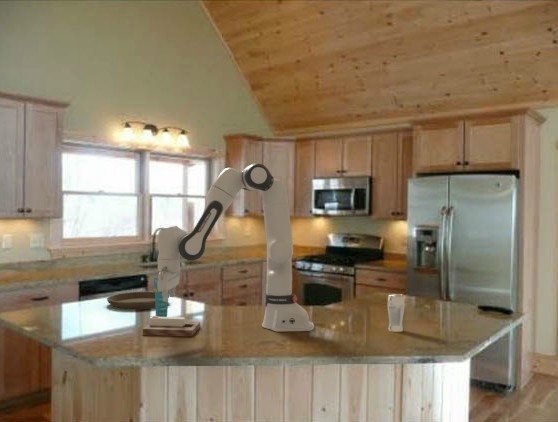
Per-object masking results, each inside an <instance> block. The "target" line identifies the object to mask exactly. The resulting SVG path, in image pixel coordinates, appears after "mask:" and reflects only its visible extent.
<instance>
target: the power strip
mask: <svg viewBox="0 0 558 422" xmlns="http://www.w3.org/2000/svg"><path fill="white" fill-rule="evenodd" d="M185 321H186V317H184V316H183V317H182V316H167V317H158V316H156V315H153V316H151V317H149V324H150V325H151V326H184V325H185Z"/></svg>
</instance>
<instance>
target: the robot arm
mask: <svg viewBox="0 0 558 422" xmlns="http://www.w3.org/2000/svg"><path fill="white" fill-rule="evenodd" d="M241 190H246V191H249V192H255V191H256V192H257V191H258V192H260V193H259V194H260V195H261V197H262V207H263V218H264V221H263V222H264V230H265V242H266V288H265V289H266V293H265V294H264V295H265V296H264V305H265V310H264V311H265V312H264V317H263V321H262V324H261V326H262V327H263V328H265V329H268V330H271V331H274V332H279V333H281V332H310V331H313V330H314V329H315V324H314V323H313V322H312V321H310V317H309V313H308V311H307V310H306V309H305V308H303V306H301V305H300V304H299V303H298V302H297V301H298V297H297V295H296V294H294V293H293V290H292V289H293V265H292V261H293V258H292V257H293V255H294V244H293V234H292V226H291V214H290V207H289V206H290V205H289V197H288V192H287V191H288V190H287V188H286V184H285V182H284V181H283V180H281V179H279V178H274V177H273V175H272V173H271V172H270V170H269V169H268V168H267V166H265V165H264V164H262V163H256V162H255V163H252V164H249V165H247V166H246V167H245V168H244V169H243V170H238V169H236V168H234V167H227V168H224V169H223V170H222V171H221V172H220V174H219V175H218V176H217V177H216V178H215V179H214V182H213V183H212V185H211V186H210V188H209V189H208V192H207V194H206V197H205V200H204V207H203V212H202V215H201V216H200V218H199V220H198V221H197V223H196V225H195V226H194V228H193V230H192V231H191V232H188V231H186V230H184V229H182V228H180V227H179V226H177V225H170V226H165V227H162V228H161V229H160V230H159V231H158V234H157V235H158V236H157V251H158V256H157V270H158V271H160V272H159V273H158V275H157V278H158V285H157V289H158V292H162V296H163V301H164V302H167V301H168V302H169V298H174V297H175V296H176V295H175V294H176V293H175V292H176V289H177V286H178V285H180V282H181V268H182V262H181V260H180V259H181V257H182V258H183V259H185V260H186V261H197V260H198V259H200V258H201V257H202V256H203V254H204V253H205V248H206V242H207V239H208V237H209V235H210V234H211V232H212V231H213V228H214V227H215V225H216V223H217V222H218V220H219V219H220V217H221V216H222V215H223V214H224V213H225V212H226V211H227V210H228V209H229V207H230V206H231V205H232V203H233V202H234V200H235V199H236V197H237V194H239V192H241ZM168 290H169V298H168V294H167V293H168Z"/></svg>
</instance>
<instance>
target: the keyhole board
mask: <svg viewBox="0 0 558 422" xmlns="http://www.w3.org/2000/svg"><path fill="white" fill-rule="evenodd" d="M199 329H201V321H189V320H188V321H186V320H185V325H184V326H151V325H150V323H149V324H147V325H146V326H145V327H143V328H142V336H167V337H170V336H171V337H193V336H194V335H195V334H196V333H197V332H198V331H199Z"/></svg>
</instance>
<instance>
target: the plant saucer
mask: <svg viewBox="0 0 558 422" xmlns="http://www.w3.org/2000/svg"><path fill="white" fill-rule="evenodd" d="M169 298H170V296H169V297H168V299H169ZM106 300H107V302H108V304H110V306H111V307H112V308H114V309H118V310H129V311H130V310H131V311H134V310H135V311H136V310H149V309H154V308H155V309H156V305H155V291H131V292H129V291H128V292H121V293H116V294H113V295H110V296H107V298H106Z"/></svg>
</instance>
